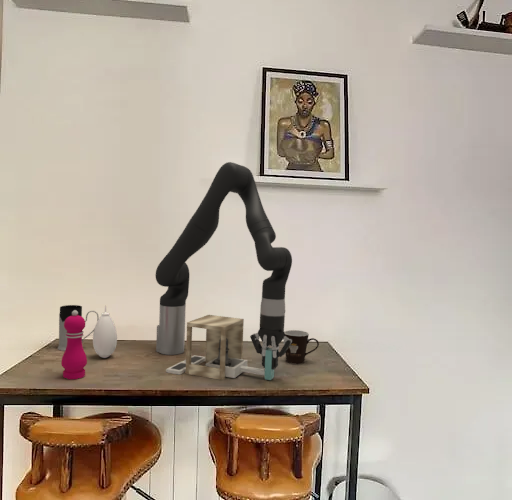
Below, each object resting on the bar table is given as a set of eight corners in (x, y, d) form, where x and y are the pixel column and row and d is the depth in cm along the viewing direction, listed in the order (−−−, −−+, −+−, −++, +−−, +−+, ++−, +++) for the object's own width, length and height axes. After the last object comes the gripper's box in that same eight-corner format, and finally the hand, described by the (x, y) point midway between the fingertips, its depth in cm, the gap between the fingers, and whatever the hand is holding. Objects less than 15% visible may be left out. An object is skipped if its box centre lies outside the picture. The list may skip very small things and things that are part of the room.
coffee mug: (277, 360, 169) (278, 332, 168) (293, 356, 175) (294, 329, 175) (304, 368, 161) (305, 339, 161) (319, 363, 168) (320, 335, 167)
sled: (205, 373, 151) (206, 344, 151) (219, 364, 161) (220, 338, 160) (266, 383, 144) (267, 353, 143) (277, 374, 153) (278, 346, 153)
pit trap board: (165, 372, 152) (166, 368, 152) (194, 358, 169) (194, 354, 169) (179, 374, 150) (179, 371, 150) (206, 360, 167) (206, 356, 167)
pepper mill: (71, 381, 140) (72, 313, 139) (55, 376, 144) (56, 310, 143) (91, 375, 147) (92, 310, 145) (76, 370, 150) (77, 307, 149)
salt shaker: (228, 375, 151) (230, 337, 150) (211, 373, 152) (212, 336, 152) (234, 370, 157) (235, 333, 156) (216, 368, 158) (218, 331, 157)
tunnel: (185, 373, 152) (186, 322, 151) (207, 361, 165) (208, 314, 164) (223, 380, 147) (224, 327, 146) (241, 367, 160) (243, 318, 159)
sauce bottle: (98, 361, 160) (99, 308, 159) (88, 356, 166) (89, 304, 165) (120, 358, 166) (121, 306, 164) (110, 352, 171) (111, 302, 170)
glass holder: (62, 344, 180) (62, 304, 179) (100, 345, 181) (101, 305, 180) (53, 350, 172) (54, 308, 171) (94, 351, 173) (95, 309, 172)
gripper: (246, 311, 147) (244, 368, 148) (290, 317, 141) (287, 375, 143) (256, 308, 154) (253, 361, 155) (297, 313, 148) (294, 368, 150)
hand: (269, 368), depth 149 cm, fingers closed on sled, 2 cm apart
